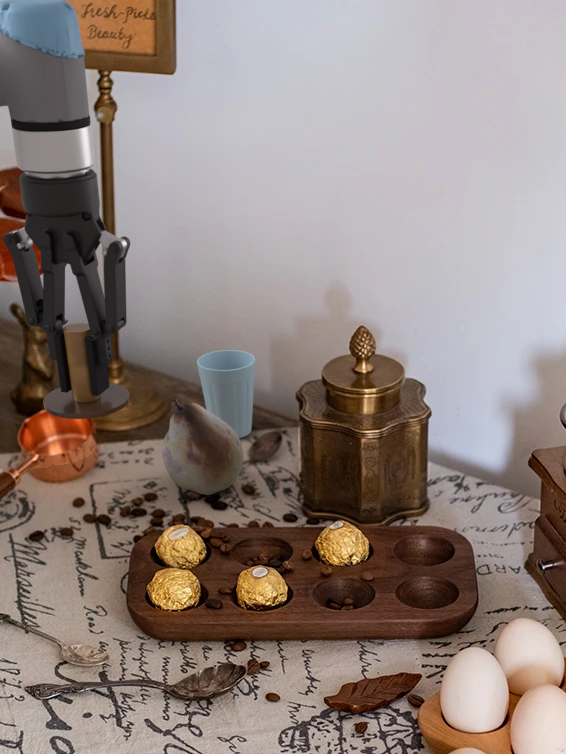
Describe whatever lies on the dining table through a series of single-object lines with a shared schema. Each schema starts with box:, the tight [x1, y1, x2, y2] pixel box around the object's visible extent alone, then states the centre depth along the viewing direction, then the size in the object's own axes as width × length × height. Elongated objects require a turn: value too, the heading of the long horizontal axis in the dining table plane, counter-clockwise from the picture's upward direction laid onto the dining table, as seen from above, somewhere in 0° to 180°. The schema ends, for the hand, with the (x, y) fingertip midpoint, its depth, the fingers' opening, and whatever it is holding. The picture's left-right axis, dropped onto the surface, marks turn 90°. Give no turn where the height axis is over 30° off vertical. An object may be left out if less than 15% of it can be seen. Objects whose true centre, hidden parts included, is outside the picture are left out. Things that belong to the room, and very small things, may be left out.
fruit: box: [161, 398, 245, 496], centre depth 134 cm, size 10×9×12 cm
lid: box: [42, 322, 131, 420], centre depth 120 cm, size 9×9×9 cm
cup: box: [196, 349, 256, 439], centre depth 149 cm, size 8×8×10 cm
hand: (85, 388), depth 121 cm, fingers closed on lid, 3 cm apart
